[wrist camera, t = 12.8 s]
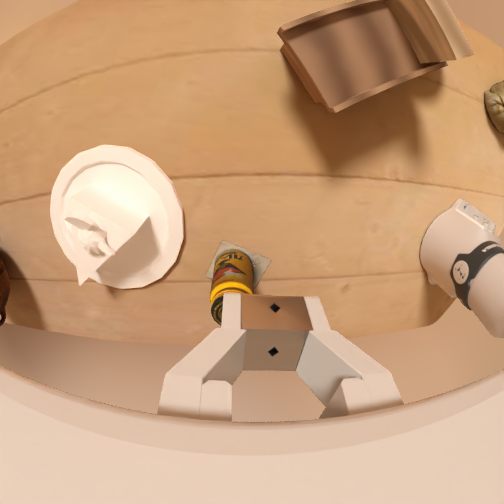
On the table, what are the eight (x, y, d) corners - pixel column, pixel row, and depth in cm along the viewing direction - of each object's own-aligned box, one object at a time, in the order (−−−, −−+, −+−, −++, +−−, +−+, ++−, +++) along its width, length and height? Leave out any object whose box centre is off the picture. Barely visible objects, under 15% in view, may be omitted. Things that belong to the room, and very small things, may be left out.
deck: (311, 112, 33) (335, 112, 24) (270, 47, 28) (280, 26, 20) (406, 69, 29) (447, 65, 20) (372, 10, 24) (406, -10, 15)
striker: (420, 63, 21) (457, 59, 15) (384, 0, 18) (414, -16, 12) (437, 57, 21) (473, 54, 15) (403, -3, 17) (434, -18, 11)
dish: (79, 120, 32) (33, 129, 22) (214, 194, 39) (205, 225, 29) (44, 243, 41) (11, 274, 31) (150, 305, 48) (134, 349, 38)
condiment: (222, 239, 42) (216, 285, 32) (271, 259, 44) (280, 308, 34) (205, 275, 45) (196, 326, 35) (251, 292, 47) (254, 344, 37)
